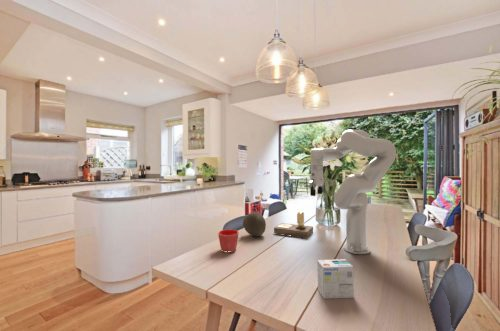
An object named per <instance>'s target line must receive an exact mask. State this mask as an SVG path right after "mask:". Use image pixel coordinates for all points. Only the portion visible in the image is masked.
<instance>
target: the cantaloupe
mask: <svg viewBox="0 0 500 331" xmlns="http://www.w3.org/2000/svg"><path fill="white" fill-rule="evenodd" d="M242 223H243V224H242V225H243V228H244V230H245V232H246V233H248V235H250V236H251V237H252V236H253V237H260V236H262V235H263V234H264V233H265V231H266V228H267V227H266V226H267V224H266V219H265V217H264V216H263V214H261V213H259V212H250V213H248V214H246V215H245V217H244V218H243V221H242Z"/></svg>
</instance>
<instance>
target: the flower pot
mask: <svg viewBox="0 0 500 331" xmlns="http://www.w3.org/2000/svg"><path fill="white" fill-rule="evenodd" d="M217 235H218V239H219V240H218V241H219V245H220V250H223V251H227V252H228V251H234V250H235V251H237V247H238V246H237V245H238V240H239V230H236V229H222V230H219V231H218V233H217ZM235 251H234V252H235Z"/></svg>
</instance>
